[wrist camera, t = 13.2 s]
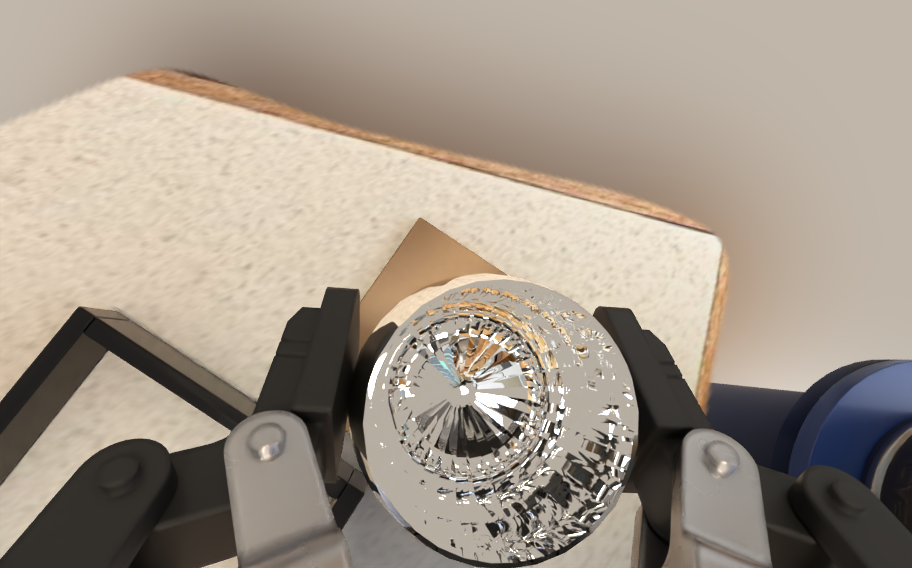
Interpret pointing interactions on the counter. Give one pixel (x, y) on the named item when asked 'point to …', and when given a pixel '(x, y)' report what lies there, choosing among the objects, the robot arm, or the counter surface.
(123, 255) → the counter surface
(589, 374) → the wineglass
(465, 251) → the plate
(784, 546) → the robot arm
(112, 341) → the black square frame
